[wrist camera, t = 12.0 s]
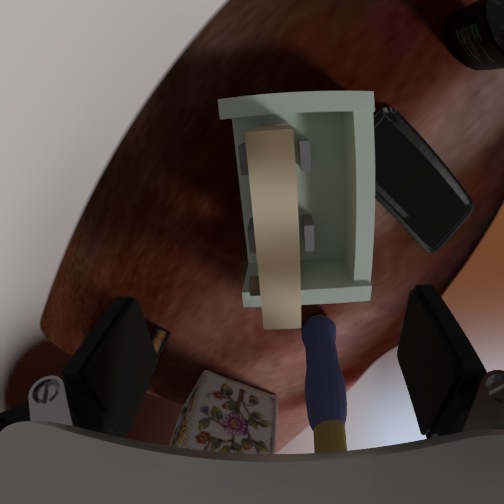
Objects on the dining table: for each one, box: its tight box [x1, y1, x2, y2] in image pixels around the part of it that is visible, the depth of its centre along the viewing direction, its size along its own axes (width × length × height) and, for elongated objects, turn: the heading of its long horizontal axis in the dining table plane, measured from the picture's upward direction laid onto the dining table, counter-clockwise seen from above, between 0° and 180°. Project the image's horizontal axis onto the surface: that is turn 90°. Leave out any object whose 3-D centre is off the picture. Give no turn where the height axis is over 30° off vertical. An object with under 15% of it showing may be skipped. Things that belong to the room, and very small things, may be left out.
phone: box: [373, 107, 474, 253], centre depth 28 cm, size 8×1×15 cm
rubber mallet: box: [302, 315, 347, 453], centre depth 22 cm, size 12×8×30 cm, turn 141°
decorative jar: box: [169, 370, 278, 454], centre depth 35 cm, size 12×12×18 cm
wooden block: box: [245, 123, 301, 329], centre depth 23 cm, size 12×3×12 cm, turn 5°
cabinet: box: [218, 91, 375, 307], centre depth 26 cm, size 17×11×7 cm, turn 6°
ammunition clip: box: [151, 327, 170, 358], centre depth 35 cm, size 11×2×12 cm, turn 152°
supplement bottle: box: [444, 0, 504, 70], centre depth 15 cm, size 7×7×12 cm
